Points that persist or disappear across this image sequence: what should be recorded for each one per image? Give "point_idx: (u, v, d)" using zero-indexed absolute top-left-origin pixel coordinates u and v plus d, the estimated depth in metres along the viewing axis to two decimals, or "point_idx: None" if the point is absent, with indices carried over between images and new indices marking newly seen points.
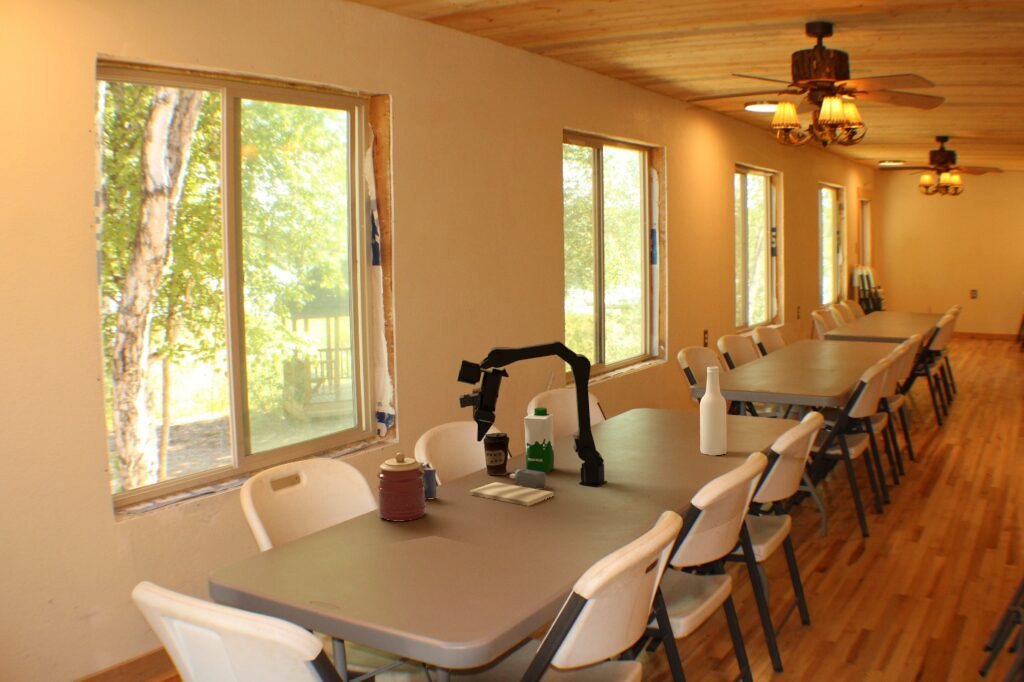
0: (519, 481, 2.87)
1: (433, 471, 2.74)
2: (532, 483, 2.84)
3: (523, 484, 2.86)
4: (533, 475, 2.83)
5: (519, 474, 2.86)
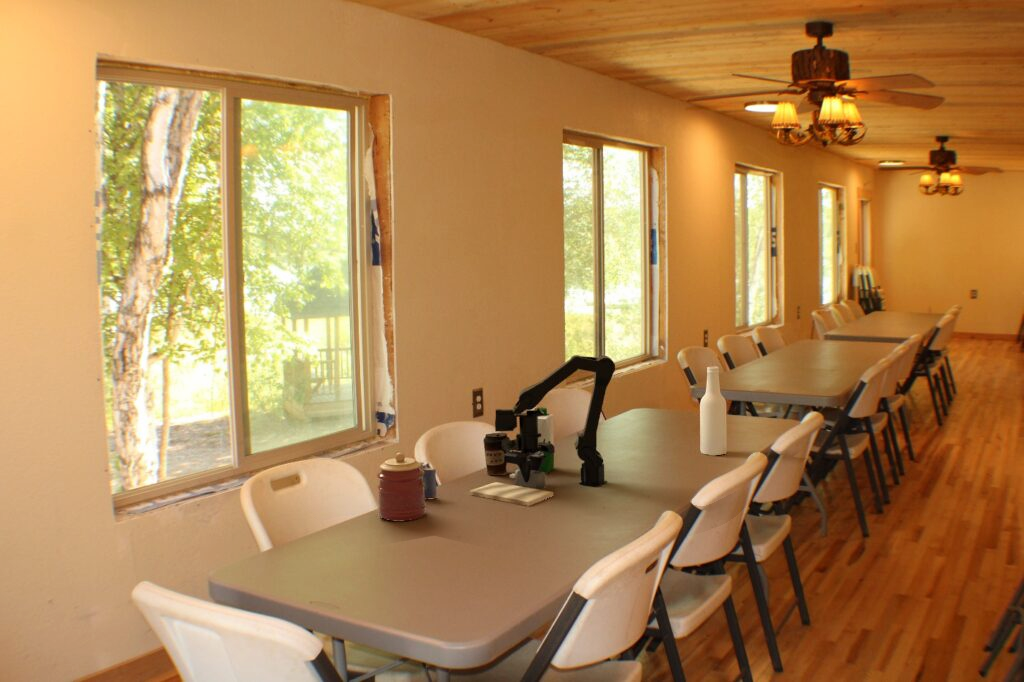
0: (519, 481, 2.87)
1: (433, 471, 2.74)
2: (532, 483, 2.84)
3: (523, 484, 2.86)
4: (533, 475, 2.83)
5: (519, 474, 2.86)
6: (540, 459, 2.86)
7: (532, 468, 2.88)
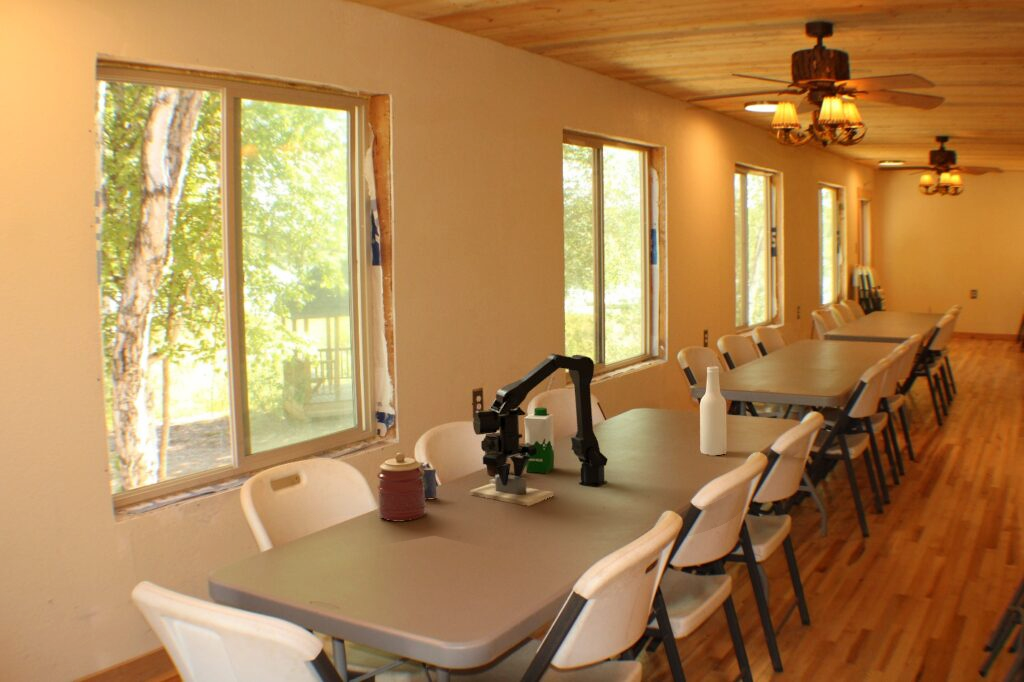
0: (499, 487, 2.76)
1: (433, 471, 2.74)
2: (512, 489, 2.73)
3: (503, 490, 2.75)
4: (513, 480, 2.72)
5: (499, 479, 2.76)
6: (523, 460, 2.76)
7: (515, 469, 2.78)
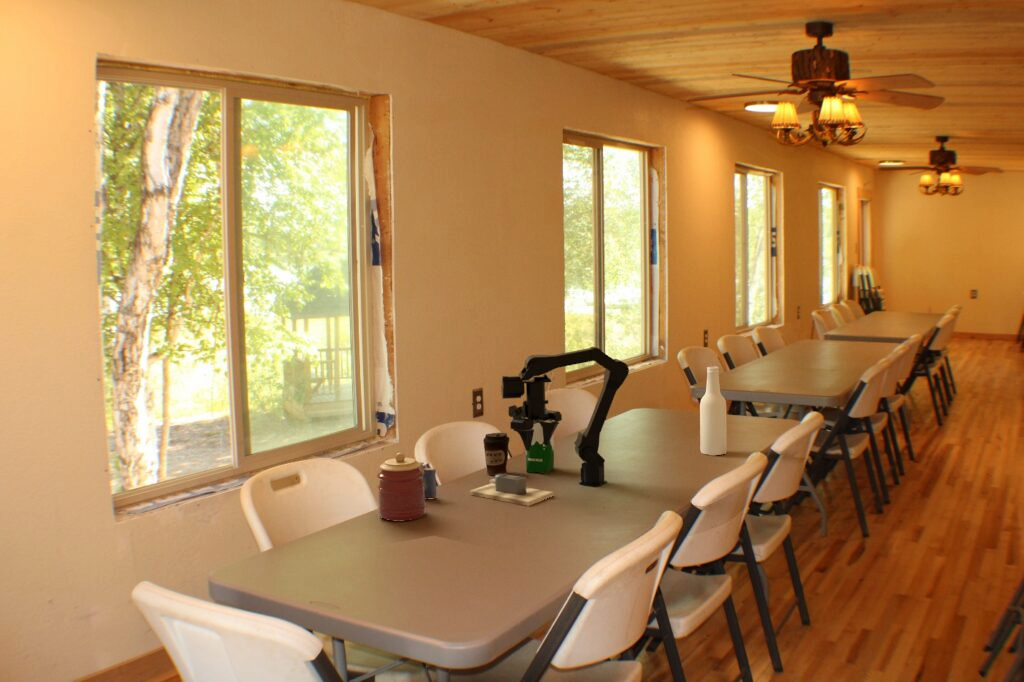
0: (499, 487, 2.76)
1: (433, 471, 2.74)
2: (512, 489, 2.73)
3: (503, 490, 2.75)
4: (513, 480, 2.72)
5: (499, 479, 2.76)
6: (552, 425, 2.85)
7: (544, 434, 2.87)
